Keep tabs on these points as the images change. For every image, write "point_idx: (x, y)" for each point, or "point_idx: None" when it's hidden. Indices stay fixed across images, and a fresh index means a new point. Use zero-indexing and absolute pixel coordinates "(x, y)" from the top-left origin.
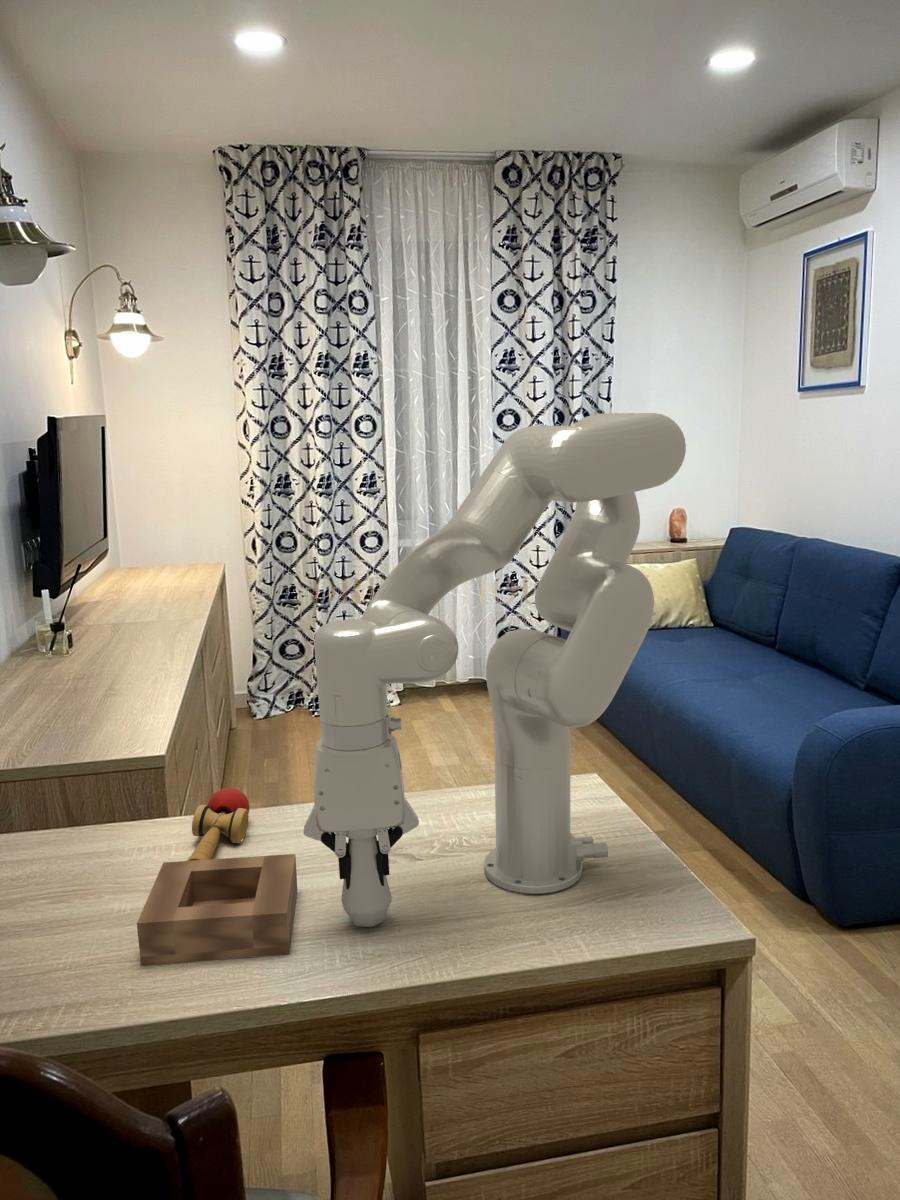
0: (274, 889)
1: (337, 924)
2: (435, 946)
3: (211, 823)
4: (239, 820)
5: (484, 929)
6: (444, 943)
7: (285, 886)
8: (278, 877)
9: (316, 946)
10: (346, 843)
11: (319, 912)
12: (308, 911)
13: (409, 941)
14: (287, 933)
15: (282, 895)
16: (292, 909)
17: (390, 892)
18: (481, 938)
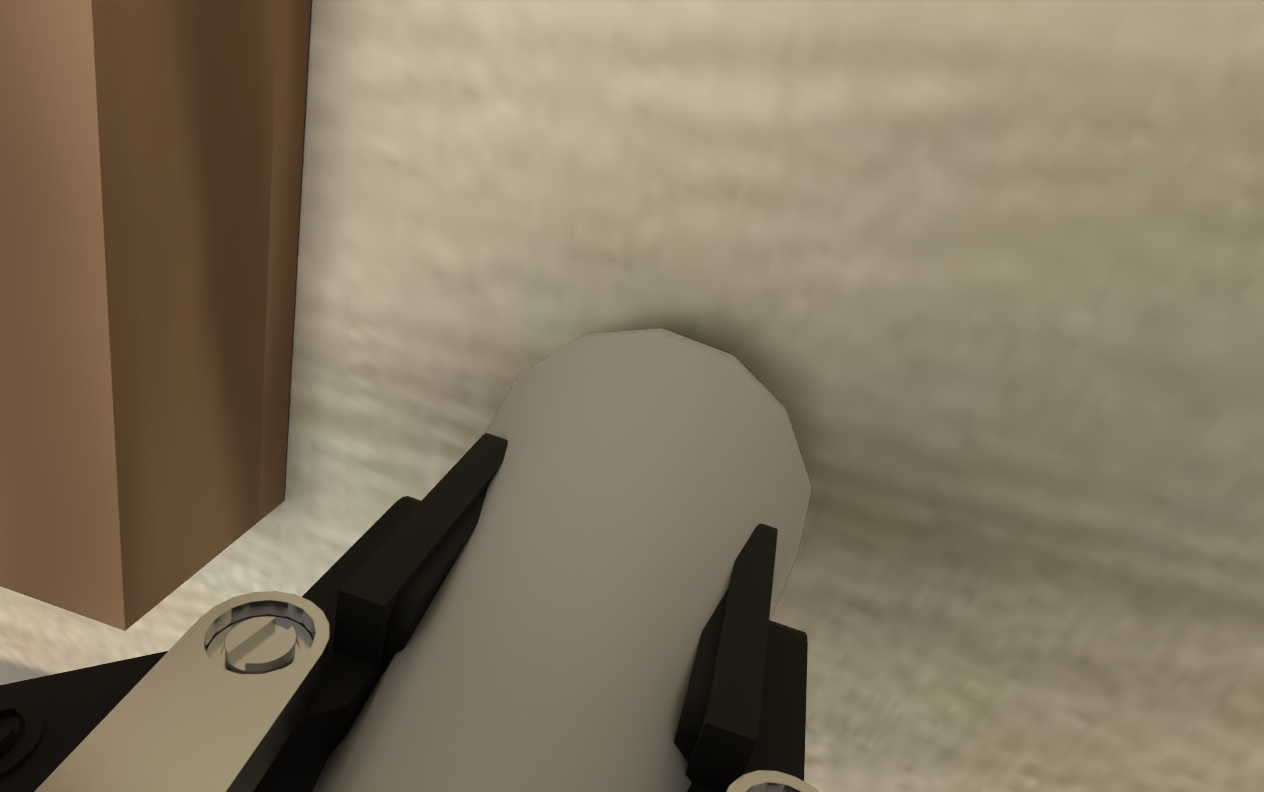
0: (14, 349)
1: (514, 361)
2: (908, 728)
3: None
4: None
5: (1226, 729)
6: (961, 729)
7: (77, 342)
8: (9, 181)
9: (397, 495)
10: (312, 736)
11: (437, 196)
12: (378, 158)
13: (811, 645)
14: (211, 556)
15: (75, 447)
16: (241, 280)
17: (789, 573)
18: (1155, 777)
